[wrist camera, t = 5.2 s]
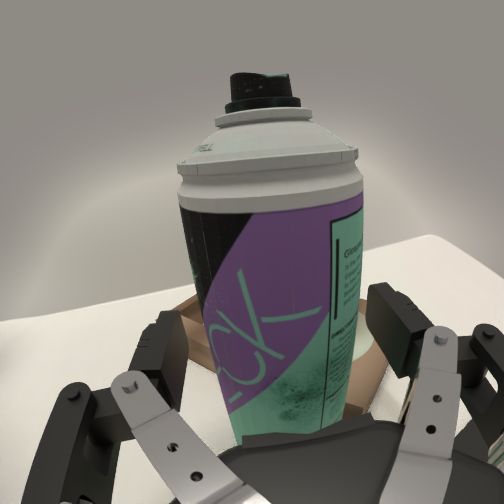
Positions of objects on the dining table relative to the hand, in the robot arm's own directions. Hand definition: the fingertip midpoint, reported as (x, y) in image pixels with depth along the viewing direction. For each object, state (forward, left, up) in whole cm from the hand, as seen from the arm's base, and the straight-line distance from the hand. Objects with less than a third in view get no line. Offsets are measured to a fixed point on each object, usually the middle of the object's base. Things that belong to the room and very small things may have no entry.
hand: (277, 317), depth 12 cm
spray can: (+1, -1, -11) cm, 11 cm away
